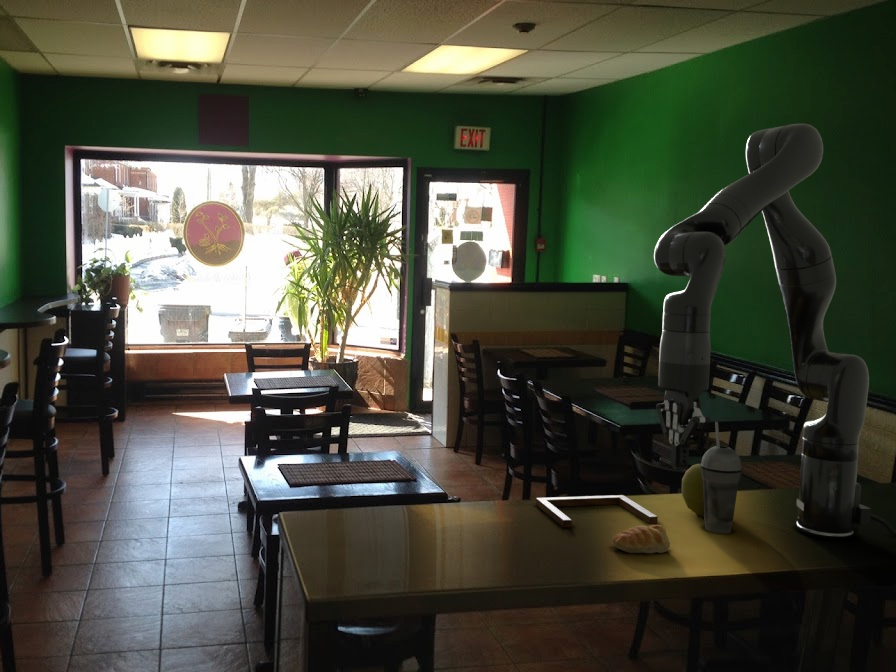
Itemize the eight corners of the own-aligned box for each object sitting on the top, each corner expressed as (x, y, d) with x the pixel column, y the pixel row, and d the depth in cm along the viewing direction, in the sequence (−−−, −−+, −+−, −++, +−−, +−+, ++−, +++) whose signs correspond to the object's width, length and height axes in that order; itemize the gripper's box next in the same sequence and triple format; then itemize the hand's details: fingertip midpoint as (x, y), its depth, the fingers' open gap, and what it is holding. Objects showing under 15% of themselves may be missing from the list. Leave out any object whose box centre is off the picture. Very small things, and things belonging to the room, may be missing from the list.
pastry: (625, 557, 148) (626, 534, 148) (603, 544, 155) (604, 523, 155) (673, 552, 151) (674, 530, 151) (649, 540, 158) (650, 518, 158)
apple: (735, 524, 168) (739, 467, 167) (681, 519, 170) (684, 462, 169) (730, 509, 177) (733, 455, 176) (679, 504, 180) (682, 451, 179)
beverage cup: (742, 537, 160) (748, 427, 159) (700, 533, 162) (705, 424, 160) (735, 525, 167) (740, 419, 166) (694, 521, 169) (699, 417, 167)
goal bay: (622, 501, 181) (623, 494, 181) (657, 523, 167) (657, 516, 167) (535, 504, 178) (535, 497, 178) (563, 527, 164) (563, 520, 164)
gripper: (730, 365, 134) (724, 478, 135) (685, 354, 147) (679, 458, 148) (684, 365, 132) (678, 479, 134) (642, 354, 145) (637, 459, 147)
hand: (679, 468), depth 141 cm, fingers closed
